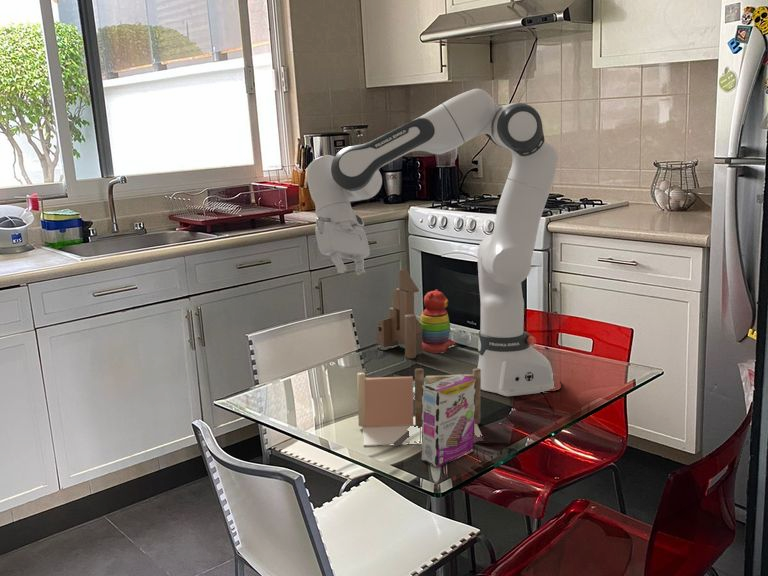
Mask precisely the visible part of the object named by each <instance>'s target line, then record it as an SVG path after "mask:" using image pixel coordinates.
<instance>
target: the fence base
mask: <svg viewBox="0 0 768 576" xmlns="http://www.w3.org/2000/svg"><path fill="white" fill-rule="evenodd" d="M424 373H425V370H424V368H419V367H418V368H415V369H414V416H415V425H417V426H422V385H425V384H428V383H432V382H435V381H438V380H442V379H445V378H448V377H452V376H455V375H456V374H445V375H444V374H443V375H424ZM463 375H464V376H467V377H470V378H473V379H475V380H476V384H475V424H477V425H479V424H481V393H482V392H481V391H482V389H481V369H478V367H477V368H472V373H471V374H463ZM424 379H425V380H424ZM424 382H425V383H424Z"/></svg>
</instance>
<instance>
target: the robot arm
mask: <svg viewBox="0 0 768 576" xmlns="http://www.w3.org/2000/svg"><path fill="white" fill-rule="evenodd" d="M542 121H543V120H542V118H541V115H540V113H539V112H538V110H536V109H535V107H533V106H531V105H529V104H527V103H521V102H520V103H518V102H513V103H507V104H503V105H498V104H497V103H496V102H495V101H494V99H493V97H492V96H491V95H490V93H488V92H487V91H486V90H484V89H482V88H473V89H469V90H467V91H464V92H462V93H460V94H457V95H455V96H453V97H452V98H449V99H448V100H446V101H444V102H442V103H441V104H439V105H437V106H436V107H434V108H432V109H430V110H429V111H427V112H425V113H424V114H423V115H420V116H419V117H417V118H415V119H413V120H411V121H409V122H407V123H404V124H401V125H400V126H398V127H396V128H394V129H392V130H390V131H389V132H387V133H385V134H383V135H381V136H379V137H377V138H375V139H373V140H370V141H369V142H368V141H367V142H366V143H362V144H355V145H350V146H346V147H344V148H342V149H340V151H338V152H337V153H336V154H335V156H334V155H331V154H325V155H321V156H318V157H317V158H315V159H313V160H312V161H311V162H310V163H309V164H308V165H307V167H306V180H307V181H306V182H307V185H308V189H309V194H310V197H311V200H312V201H313V203H314V206H315V215H316V221H315V224H316V226H315V228H314V229H315V230H314V231H315V238H316V243H317V246H318V247H317V248H318V250H319V252H320V253H321V254H322V256H329V257H330V260H331V261H332V263H333V264H334V266H335V268H336V270H337V273H338V274H344V273H346V272H347V271H348V268H347V266H346V264H344V262H343V259H350V260H353V262H354V263H355V268H354V271H355V275H357V276H362V275H365V274H366V271H365V265H364V264H365V260H364V259H366V258H368V257H369V256H370V254H371V249H370V245H369V241H368V237H367V234H366V231H365V230H364V228H363V227H365V223H364V220H363V218H362V217H361V216H359V215H358V214H357V213H356V211H355V210H354V209H353V208H352V205H351V203H352V202H360V201H366V200H369V199H372V198H373V197H376V196H377V194H379V192H380V190H381V188H382V185H383V176H382V174H381V172H380V169H381V168H382V167H384V166H385V165H388V164H390V163H392V162H394V161H396V160H397V159H399V158H401V157H403V156H405V155H407V154H409V153H411V152H412V153H413V152H419V151H420V152H421V151H422V152H426V153H430V154H434V155H443V154H445V153H447V152H451V151H453V150H455V149H457V148H459V147H461V146H462V145H464V144H465V143H467V142H468V141H470V140H473V138H476V137H479V136H481V135H485V136H486V137H487V138H488V139H489V140H490V142H492V143H493V144H494V145H496V146H497V147H499V148H503V149H506V150H509V151H510V153H511V157H512V163H511V167H510V170H509V172H508V175H507V179H506V181H505V184H504V187H503V190H502V192H501V195H500V199H499V201H498V204H497V207H496V213H495V214H496V215H495V221H494V227H493V232H492V234H489V235H487V236H486V237H484V238H483V239H482V240H481V241H480V243H479V245H478V247H477V253H476V254H477V271H478V273H477V275H478V288H479V299H480V327H479V328H480V329H479V330H478V337H477V342H478V343H477V350H478V351H477V352H478V362H477V368H478V369H481V391H485V392H489V393H490V392H491V393H494V394H498V395H502V396H505V397H514V396H515V397H516V396H523V395H524V396H525V395H532V394H541V393H540V392H543V393H545V392H544V391H548V390H550V389H553V388H555V387H554V381H553V374H554V373H553V369H552V364H551V362H550V360H549V359H548V358H547V357H546V356H545V355H543V354H542V353H541V352H539V351H538V350H537V349H535V348H534V347H533V346H534V345H535V344H537V339H536V338H535V337H534V336H533V335H531V334H530V333H528V332H527V331H526V330H525V331H524V327H525V326H524V324H525V322H524V319H525V317H524V315H525V301H524V297H523V296H524V295H523V289H522V282H523V281H525V280H526V278H527V277H528V276H529V275H530V274H531V273H530V272H531V269H532V259H533V254H534V250H535V247H536V240H537V234H538V230H539V226H540V221H541V218H542V215H543V212H544V210H545V206H546V204H547V201H548V198H549V195H550V192H551V189H552V187H553V183H554V181H555V180H554V179H555V176H556V170H557V166H558V165H557V164H558V155H559V154H558V152H557V150H556V148H555V147H554V146H553V145H551V144H550V143H548V142H546V141H545V140H546V139H545V133H544V128H543V123H542ZM342 258H343V259H342Z"/></svg>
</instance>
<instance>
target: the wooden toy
mask: <svg viewBox="0 0 768 576" xmlns="http://www.w3.org/2000/svg"><path fill="white" fill-rule="evenodd" d="M418 292H420V290H419V287H418V286H417V285H416V283H415V281H414V280H413V279H412V276H411V275H410V274H409V272H408V271H407V269H406V268H402V269H399V270H398V288H395V289H394V291H393V293H391V295H392V296H391V297H392V300H391V301H392V302H391V303H392V305H391V306H390V307H389V309H388V313H389V314H388V315H389V318H385V319H382V320H380V321H378V323H377V324H376V345H377V344H378V345H379V344H380V345H381V346H383V347H386V346H387V347H388V346H394V345H398V344H400V343H402V344H403V345H404V348H405V349H404V356H406V357H407V358H406V357H405V358H406V359H409V358H410V359H409V360H411V359H415V358H416V357H417V356H418V355H421V354H423V349H422V324H421V323H420V321H419V320H418V319H417V316H416V314H415V293H418Z"/></svg>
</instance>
